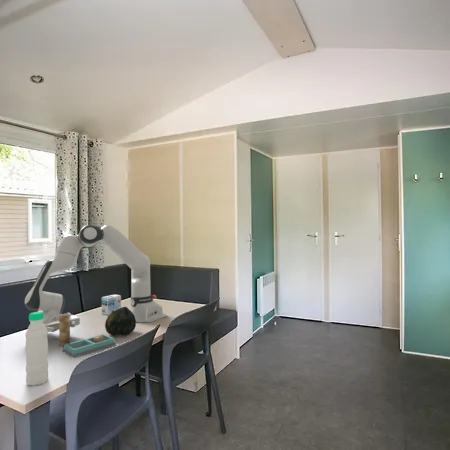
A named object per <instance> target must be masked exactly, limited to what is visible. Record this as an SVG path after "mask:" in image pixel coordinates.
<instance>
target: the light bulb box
mask: <svg viewBox="0 0 450 450" xmlns="http://www.w3.org/2000/svg"><path fill="white" fill-rule="evenodd" d="M119 308H122V295H120V294H115V293H114V294H110V295H105V296H102V297H101V314H102V315H105V316H106V315H107V316H109V315H110V314H111V313H112V312H114V311H116V310H118V309H119Z"/></svg>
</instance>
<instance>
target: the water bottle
mask: <svg viewBox="0 0 450 450" xmlns="http://www.w3.org/2000/svg"><path fill="white" fill-rule="evenodd" d="M43 318H44V313H43V312H38V311H33V312H30V313H29V315H28V321H29V322H30V324H29V325H28V327H27V330H26V332H25V360H26V366H25V372H26V375H25V383H26V385H27V386H31V387H35V386H39V385H43V384H45V383H46V382H47V381H49V360H48V359H49V354H48V353H49V339H48V333H49V332H48V331H47V328H46V327H45V325H44V323H43Z"/></svg>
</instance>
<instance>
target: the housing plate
mask: <svg viewBox="0 0 450 450" xmlns="http://www.w3.org/2000/svg"><path fill="white" fill-rule="evenodd" d="M114 346H117V342H116V341H115V338H114V337H111V335H110V336H109V335H108V334H104V333H103V334H100V335H94V336H93V337H88V338H85V339H80V340H77V341H73V342H72V341H71V342H70V343H69V344H65V345H64V347H62V352H63V353H64V352H65V353H64V354H66V355H68V356H69V357H71V358H77V357H80V356H84V355H87V354H91V353H94V352H98V351H100V350H103V349H107V348H110V347H114Z"/></svg>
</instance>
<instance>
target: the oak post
mask: <svg viewBox="0 0 450 450" xmlns="http://www.w3.org/2000/svg"><path fill="white" fill-rule="evenodd" d="M58 333H59V335H58V337H59V338H58V340H59V347H61V348H64V345H65V344H69V343H71V327H70V315H69V314H63V315H60V316H59V332H58Z"/></svg>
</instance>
